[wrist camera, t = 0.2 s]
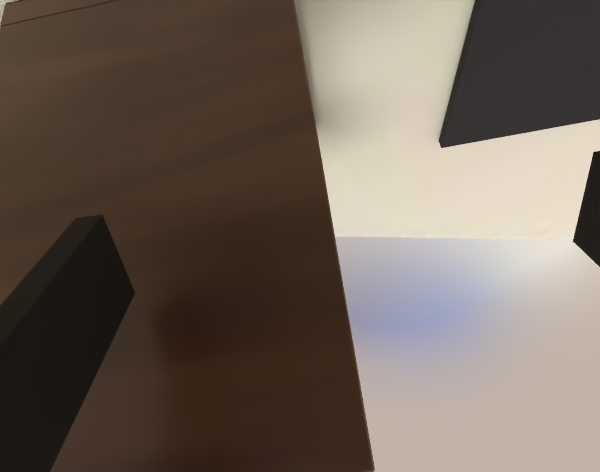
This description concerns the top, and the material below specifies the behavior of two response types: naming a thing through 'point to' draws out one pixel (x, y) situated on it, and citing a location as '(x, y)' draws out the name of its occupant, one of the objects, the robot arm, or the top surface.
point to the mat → (525, 69)
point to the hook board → (186, 229)
